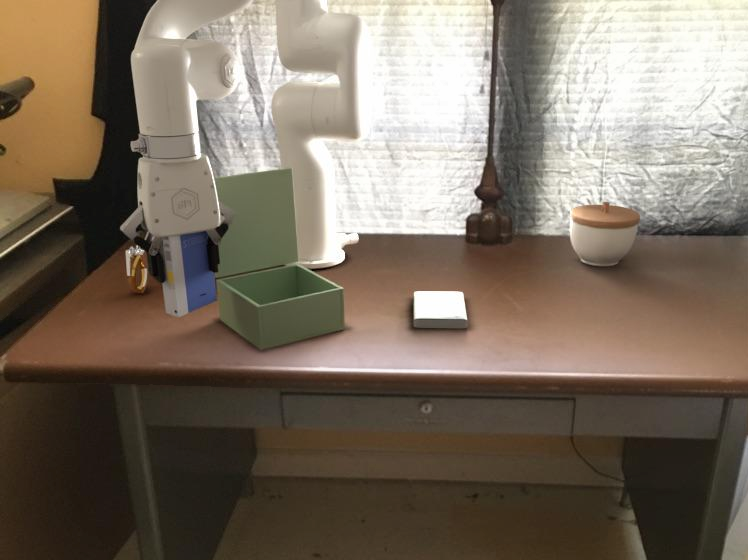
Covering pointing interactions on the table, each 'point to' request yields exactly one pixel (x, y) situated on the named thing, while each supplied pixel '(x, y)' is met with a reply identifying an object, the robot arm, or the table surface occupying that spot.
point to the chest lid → (258, 221)
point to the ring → (132, 272)
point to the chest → (280, 305)
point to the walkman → (186, 273)
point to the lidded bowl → (603, 233)
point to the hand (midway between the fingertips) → (185, 274)
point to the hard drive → (439, 310)
